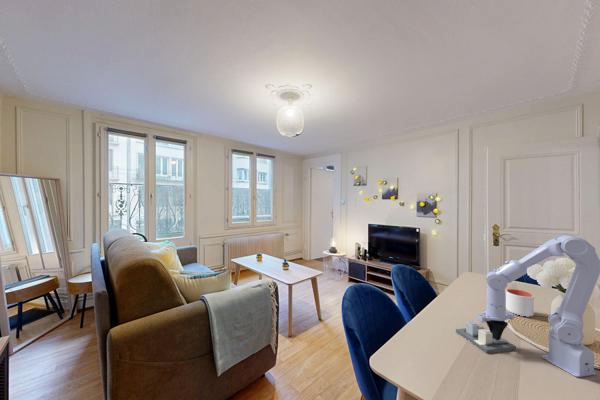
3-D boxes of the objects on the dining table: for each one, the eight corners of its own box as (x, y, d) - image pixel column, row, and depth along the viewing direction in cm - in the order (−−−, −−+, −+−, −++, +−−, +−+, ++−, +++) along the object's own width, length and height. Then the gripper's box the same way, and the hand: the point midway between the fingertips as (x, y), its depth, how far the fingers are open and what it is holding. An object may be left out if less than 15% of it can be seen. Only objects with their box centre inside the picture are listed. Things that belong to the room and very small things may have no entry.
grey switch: (479, 335, 92) (479, 324, 92) (472, 335, 92) (472, 325, 92) (472, 331, 95) (472, 320, 95) (466, 331, 95) (466, 321, 95)
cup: (539, 319, 108) (539, 298, 108) (514, 316, 110) (514, 296, 110) (523, 309, 117) (523, 289, 117) (501, 307, 119) (501, 288, 119)
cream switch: (492, 343, 87) (492, 332, 87) (485, 344, 86) (485, 333, 86) (484, 339, 90) (484, 328, 90) (478, 339, 89) (478, 328, 89)
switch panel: (516, 349, 86) (516, 345, 86) (486, 353, 84) (486, 348, 84) (482, 329, 99) (482, 325, 99) (455, 332, 97) (455, 328, 97)
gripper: (500, 297, 94) (500, 330, 94) (470, 300, 92) (470, 334, 92) (519, 305, 87) (519, 341, 87) (487, 308, 85) (487, 345, 85)
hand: (495, 338), depth 89 cm, fingers closed
